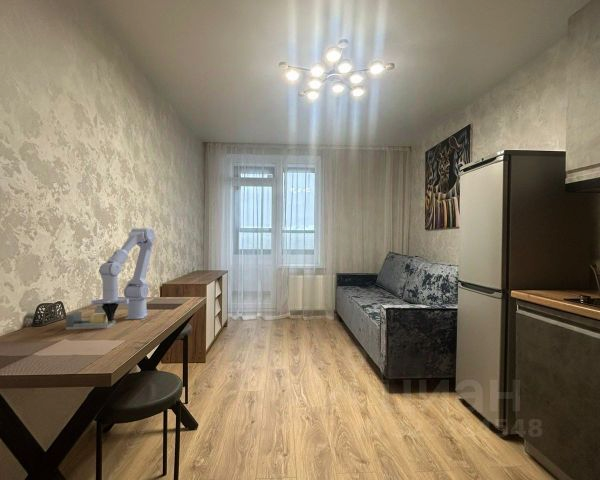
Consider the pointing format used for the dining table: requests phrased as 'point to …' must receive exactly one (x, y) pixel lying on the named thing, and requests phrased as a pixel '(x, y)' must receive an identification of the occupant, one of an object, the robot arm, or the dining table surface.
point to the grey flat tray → (91, 325)
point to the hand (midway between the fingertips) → (110, 320)
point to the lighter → (99, 309)
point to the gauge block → (98, 318)
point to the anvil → (73, 319)
